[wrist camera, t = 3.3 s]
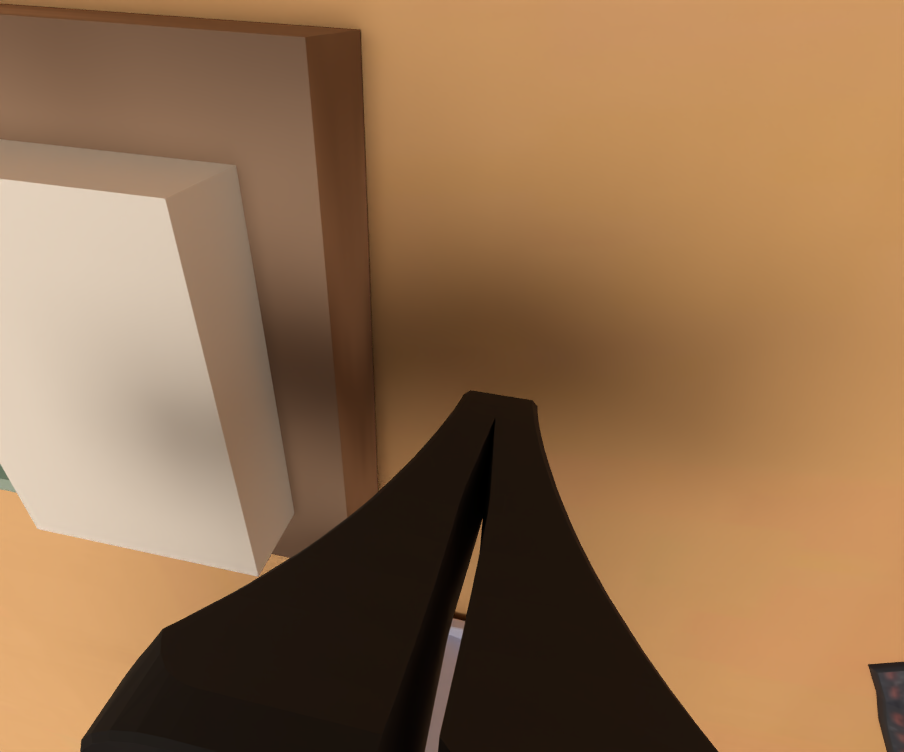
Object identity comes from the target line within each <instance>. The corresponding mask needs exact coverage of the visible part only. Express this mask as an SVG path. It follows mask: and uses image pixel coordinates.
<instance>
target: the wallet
mask: <svg viewBox="0 0 904 752" xmlns="http://www.w3.org/2000/svg"><path fill="white" fill-rule="evenodd" d="M868 666H869V669H870V672H871V676H872V679H873V682H874V686H875V689H876V694H877V706H878V718H879V722H880V726H881V730H882V734H883V738H884V742H885V746H886V749H887V752H904V662H895V663H882V664H869V665H868Z"/></svg>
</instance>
